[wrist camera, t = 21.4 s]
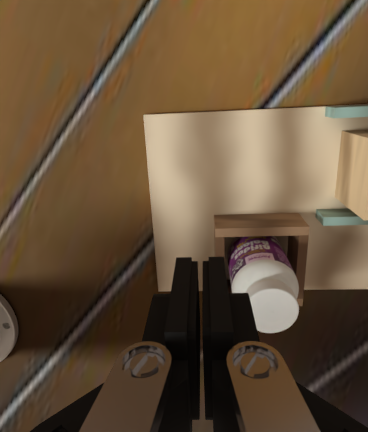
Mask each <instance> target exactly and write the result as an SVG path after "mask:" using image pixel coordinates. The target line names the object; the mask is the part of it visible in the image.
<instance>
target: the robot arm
mask: <svg viewBox="0 0 368 432" xmlns="http://www.w3.org/2000/svg"><path fill="white" fill-rule="evenodd" d="M17 338H18V323H17V318H16V316H15V314H14V311H13V309H12V308H11V306H10V305H9V303H8V302H7V301H6V300H5V298H4V297H3V296H2V295H1V294H0V362H1V361H2V360H4V359H5V358H6V357H7V356H8V354H9V353H10V352H11V351H12V349H13V348H14V346H15V344H16V342H17ZM203 361H204V390H205V418H206V420H213V429H214V432H368V428H367V427H366V426H364V425H363V424H361V423H359V422H358V421H356V420H355V419H353V418H352V417H350V416H348V415H347V414H345V413H344V412H342V411H341V410H339V409H337V408H336V407H334V406H333V405H331V404H330V403H328V402H326V401H325V400H323V399H322V398H320V397H319V396H317V395H315V394H314V393H312V392H311V391H309V390H308V389H306V388H305V387H303V386H301V385H300V384H298V383H297V382H295V381H294V379H293V377H292V375H291V373H290V371H289V369H288V367H287V365H286V363H285V361H284V359H283V357H282V356H281V354H280V353H279V352H278V351H277V350H276V349H274V348H273V347H272V346H270V345H267V344H265V343H262V342H260V341H259V337H258V332H257V328H256V324H255V319H254V315H253V310H252V306H251V302H250V297H249V294H248V293H228V285H227V277H226V270H225V262H224V257H209V261H203ZM199 417H200V308H199V281H198V261H192V257H176V262H175V269H174V275H173V281H172V288H171V294H154V295H153V298H152V302H151V306H150V310H149V314H148V318H147V322H146V327H145V331H144V335H143V339H142V342H139V343H135V344H133V345H131V346H129V347H127V348H126V349H125V350H123V351H122V352H121V353H120V355H119V356H118V358H117V359H116V361H115V363H114V365H113V367H112V369H111V371H110V373H109V375H108V377H107V379H106V381H105V382H104V383H103V384H101V385H100V386H98V387H97V388H95V389H94V390H92V391H90V392H89V393H87V394H86V395H84V396H83V397H81V398H79V399H78V400H76V401H75V402H73V403H72V404H70V405H69V406H67V407H65V408H64V409H62V410H61V411H59V412H58V413H56V414H55V415H53V416H51V417H50V418H48V419H47V420H45V421H44V422H42V423H41V424H39V425H38V426H36V427H35V428H34V429H33V430H31V431H30V432H192V420H199Z"/></svg>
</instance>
